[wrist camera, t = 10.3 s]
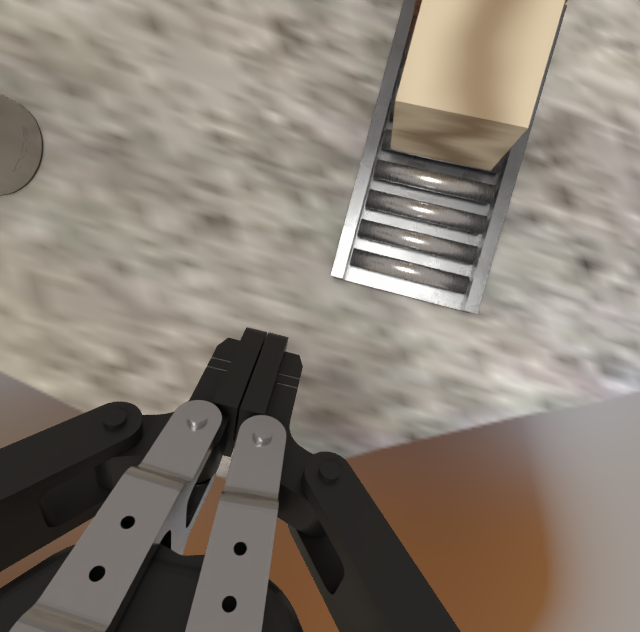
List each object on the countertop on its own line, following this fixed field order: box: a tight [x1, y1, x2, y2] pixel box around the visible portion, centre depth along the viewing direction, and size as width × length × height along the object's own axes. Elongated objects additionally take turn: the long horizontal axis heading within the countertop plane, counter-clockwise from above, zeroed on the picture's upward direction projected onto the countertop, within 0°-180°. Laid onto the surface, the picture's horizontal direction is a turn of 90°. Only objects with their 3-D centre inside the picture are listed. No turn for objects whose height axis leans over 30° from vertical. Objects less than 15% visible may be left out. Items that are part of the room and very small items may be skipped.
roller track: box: [331, 0, 567, 314], centre depth 32 cm, size 12×24×7 cm, turn 165°
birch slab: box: [390, 0, 565, 171], centre depth 29 cm, size 8×10×8 cm
